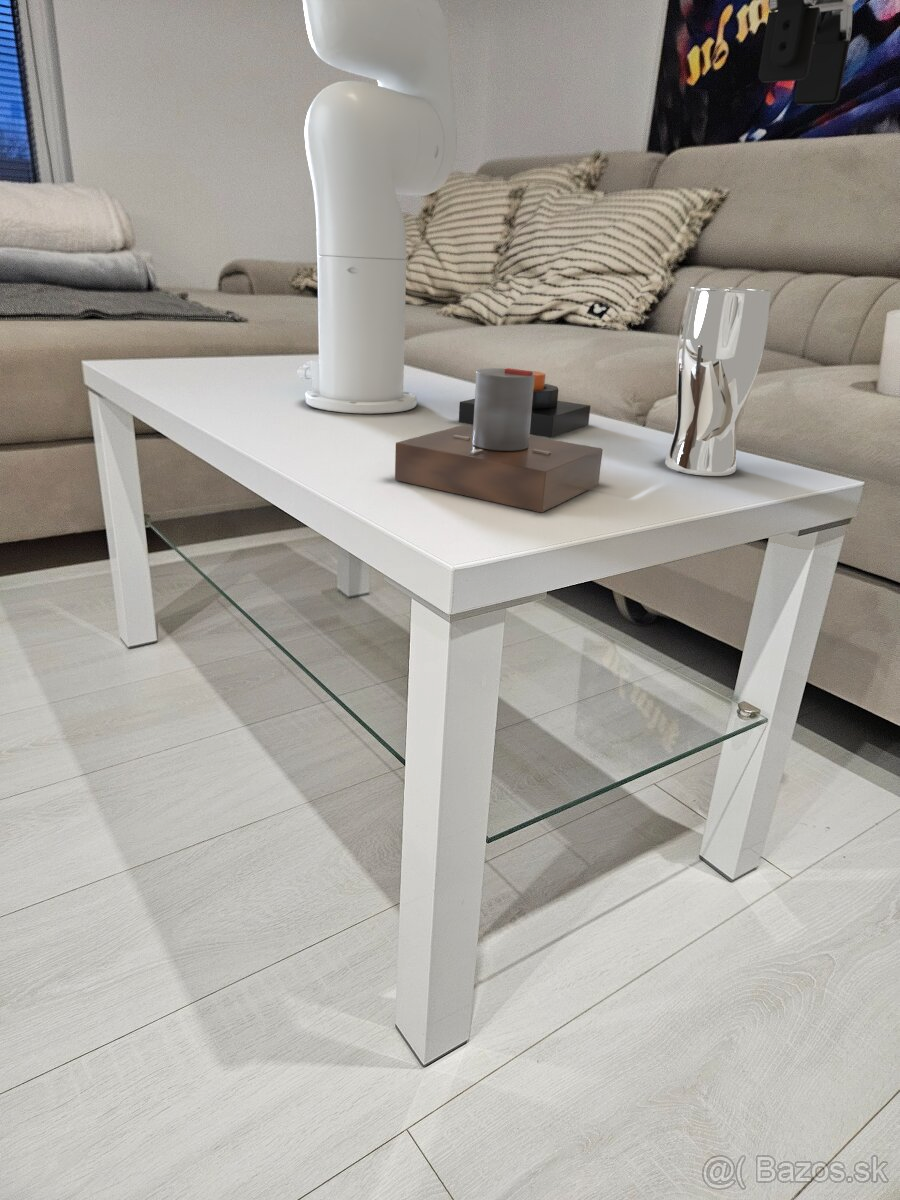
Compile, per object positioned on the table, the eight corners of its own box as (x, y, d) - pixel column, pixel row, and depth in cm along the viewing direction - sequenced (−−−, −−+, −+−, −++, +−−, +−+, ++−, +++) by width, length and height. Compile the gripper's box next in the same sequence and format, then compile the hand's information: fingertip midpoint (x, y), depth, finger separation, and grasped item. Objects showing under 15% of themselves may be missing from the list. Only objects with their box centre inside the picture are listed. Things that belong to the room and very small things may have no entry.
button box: (458, 422, 88) (460, 384, 86) (500, 411, 95) (502, 376, 93) (551, 438, 82) (555, 397, 81) (588, 425, 89) (592, 388, 88)
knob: (461, 444, 64) (465, 367, 61) (490, 436, 67) (495, 362, 65) (511, 454, 62) (517, 374, 59) (538, 444, 65) (545, 369, 63)
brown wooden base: (394, 480, 65) (395, 440, 64) (462, 458, 73) (464, 422, 71) (541, 513, 58) (546, 469, 57) (598, 485, 66) (603, 446, 65)
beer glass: (655, 456, 77) (680, 284, 71) (731, 461, 76) (763, 288, 70) (665, 474, 71) (693, 287, 65) (748, 480, 70) (784, 292, 64)
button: (503, 389, 86) (504, 372, 86) (519, 386, 89) (521, 369, 89) (534, 393, 85) (535, 376, 84) (549, 390, 87) (551, 373, 87)
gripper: (823, -148, 62) (778, 113, 69) (758, -263, 49) (710, 74, 56) (935, -170, 58) (876, 109, 65) (896, -302, 45) (827, 65, 52)
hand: (799, 92), depth 60 cm, fingers open, 9 cm apart
